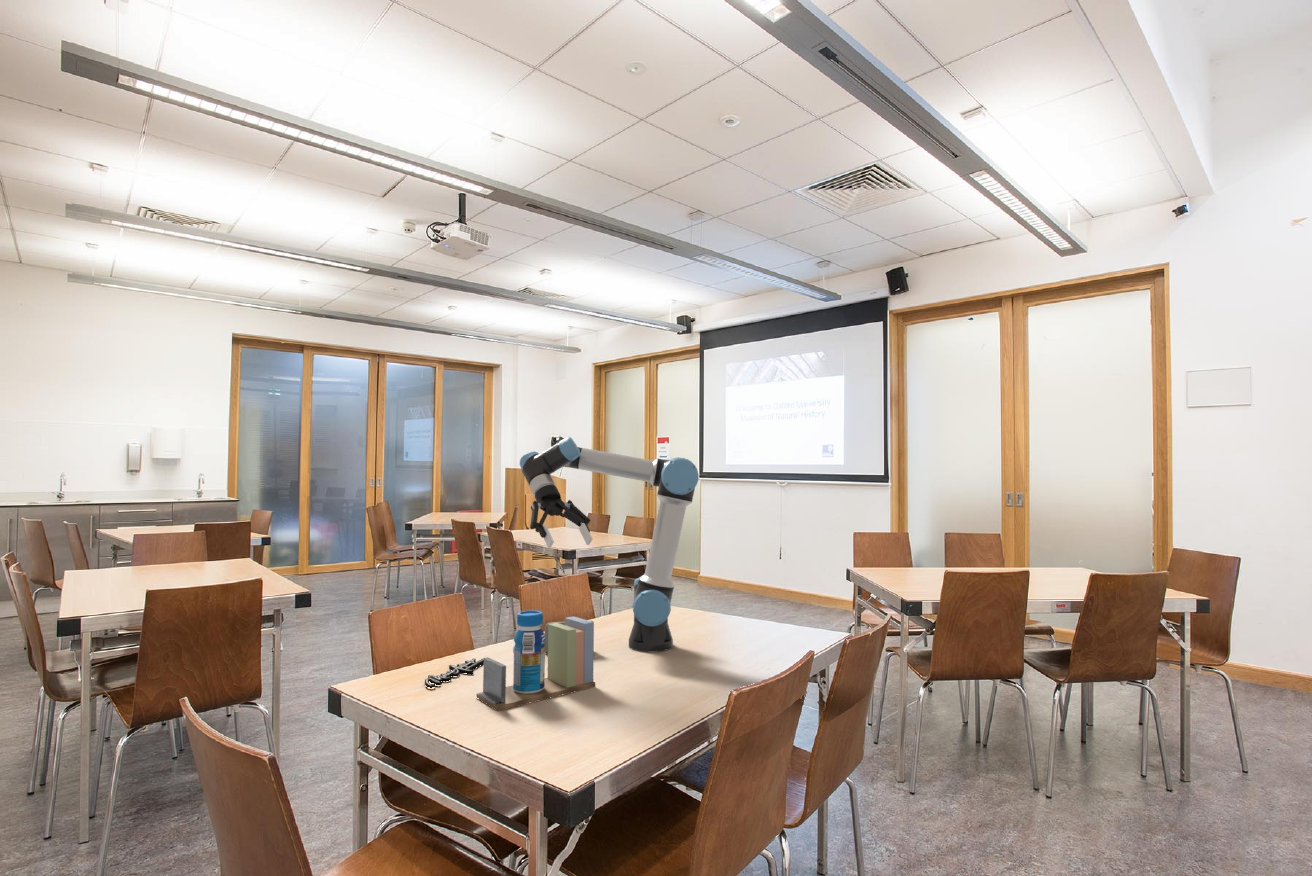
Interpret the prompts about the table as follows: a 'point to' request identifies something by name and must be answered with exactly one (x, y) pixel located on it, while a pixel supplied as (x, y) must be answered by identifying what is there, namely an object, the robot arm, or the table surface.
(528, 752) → the table surface
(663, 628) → the robot arm
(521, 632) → the beverage bottle
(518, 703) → the shelf board
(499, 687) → the bookend
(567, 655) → the book row
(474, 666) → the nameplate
